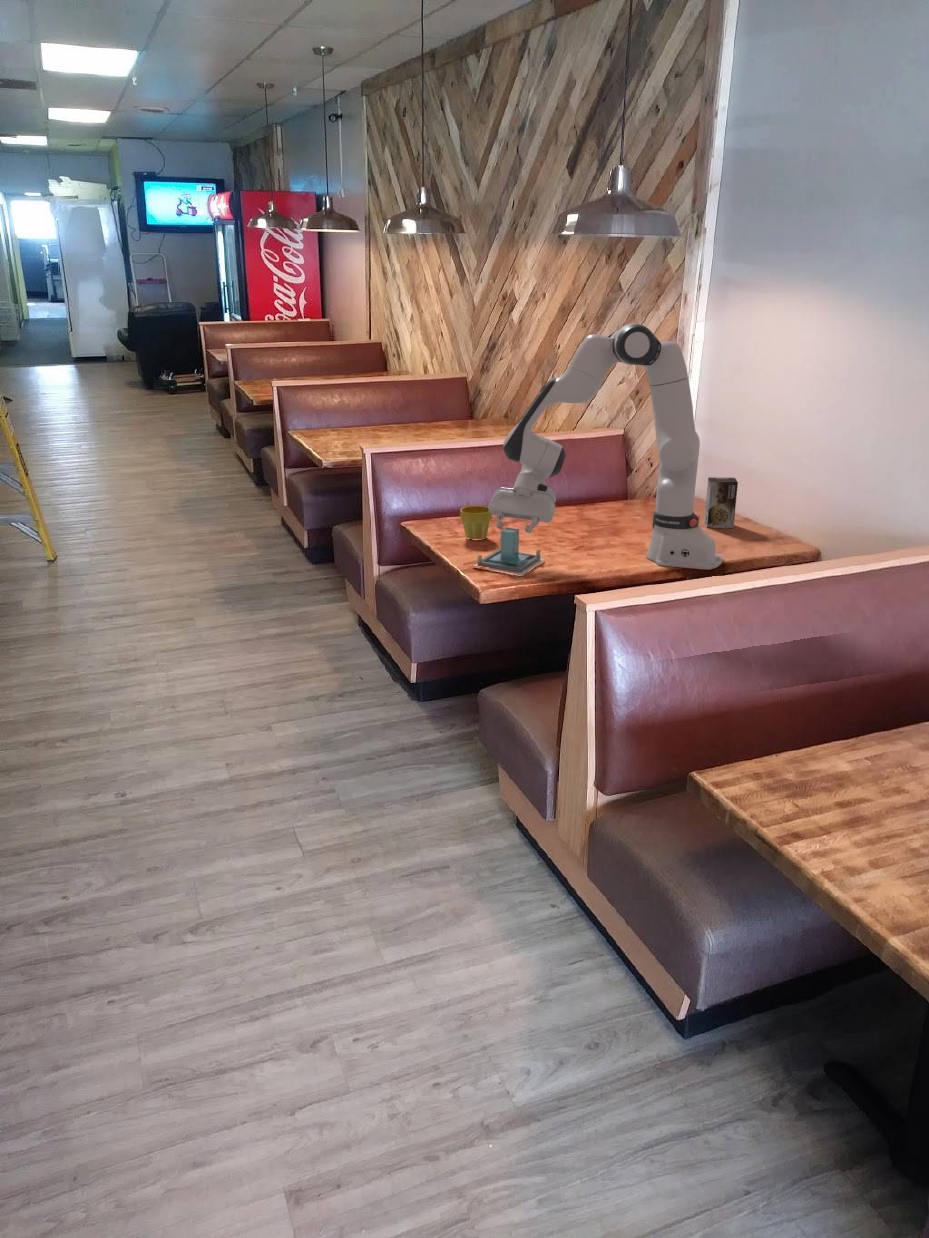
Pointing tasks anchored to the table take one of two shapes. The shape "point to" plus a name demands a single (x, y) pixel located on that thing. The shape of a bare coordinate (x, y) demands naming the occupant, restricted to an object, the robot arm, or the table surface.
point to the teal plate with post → (510, 550)
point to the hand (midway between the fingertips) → (513, 529)
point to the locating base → (510, 569)
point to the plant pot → (475, 521)
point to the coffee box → (721, 502)
